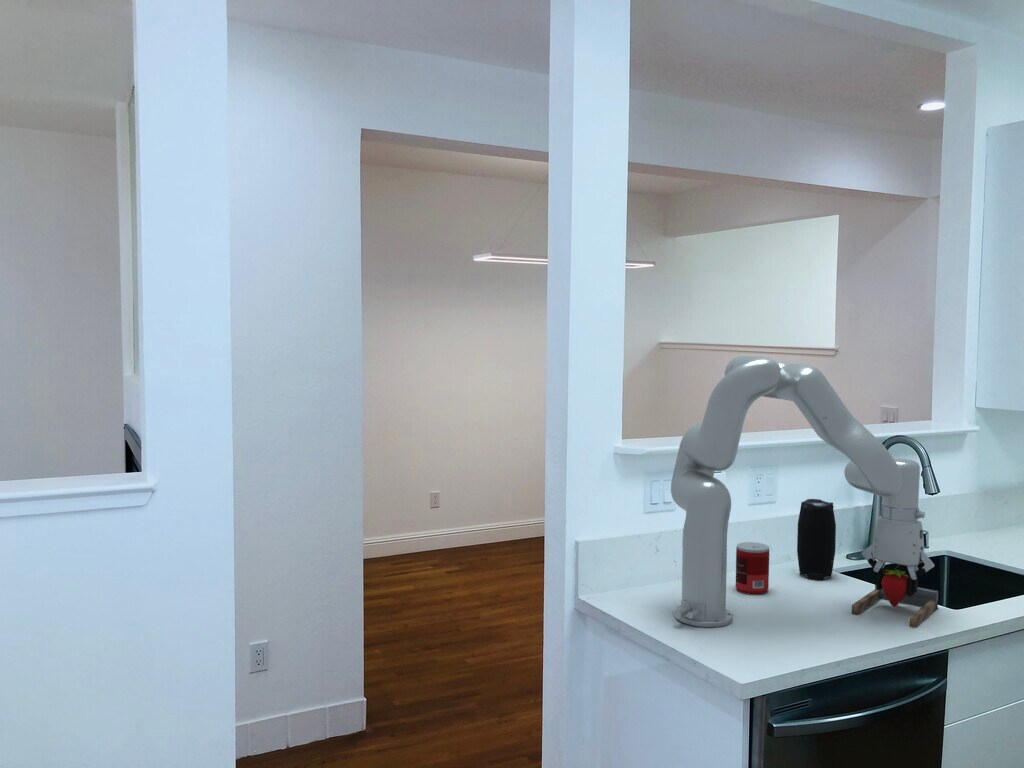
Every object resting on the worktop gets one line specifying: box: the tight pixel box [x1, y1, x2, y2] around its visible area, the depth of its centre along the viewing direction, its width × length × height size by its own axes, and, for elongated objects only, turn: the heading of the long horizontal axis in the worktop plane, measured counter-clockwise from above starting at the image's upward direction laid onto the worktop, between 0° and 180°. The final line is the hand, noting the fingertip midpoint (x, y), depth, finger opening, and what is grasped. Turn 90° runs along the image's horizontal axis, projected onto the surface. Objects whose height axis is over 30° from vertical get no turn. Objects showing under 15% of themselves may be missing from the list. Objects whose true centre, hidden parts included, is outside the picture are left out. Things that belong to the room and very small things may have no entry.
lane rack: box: [851, 584, 939, 629], centre depth 187 cm, size 17×13×4 cm
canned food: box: [735, 541, 770, 596], centre depth 202 cm, size 8×8×11 cm
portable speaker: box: [796, 498, 837, 581], centre depth 214 cm, size 9×9×20 cm
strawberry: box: [881, 564, 910, 607], centre depth 188 cm, size 6×8×10 cm
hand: (895, 591), depth 188 cm, fingers closed on strawberry, 5 cm apart
